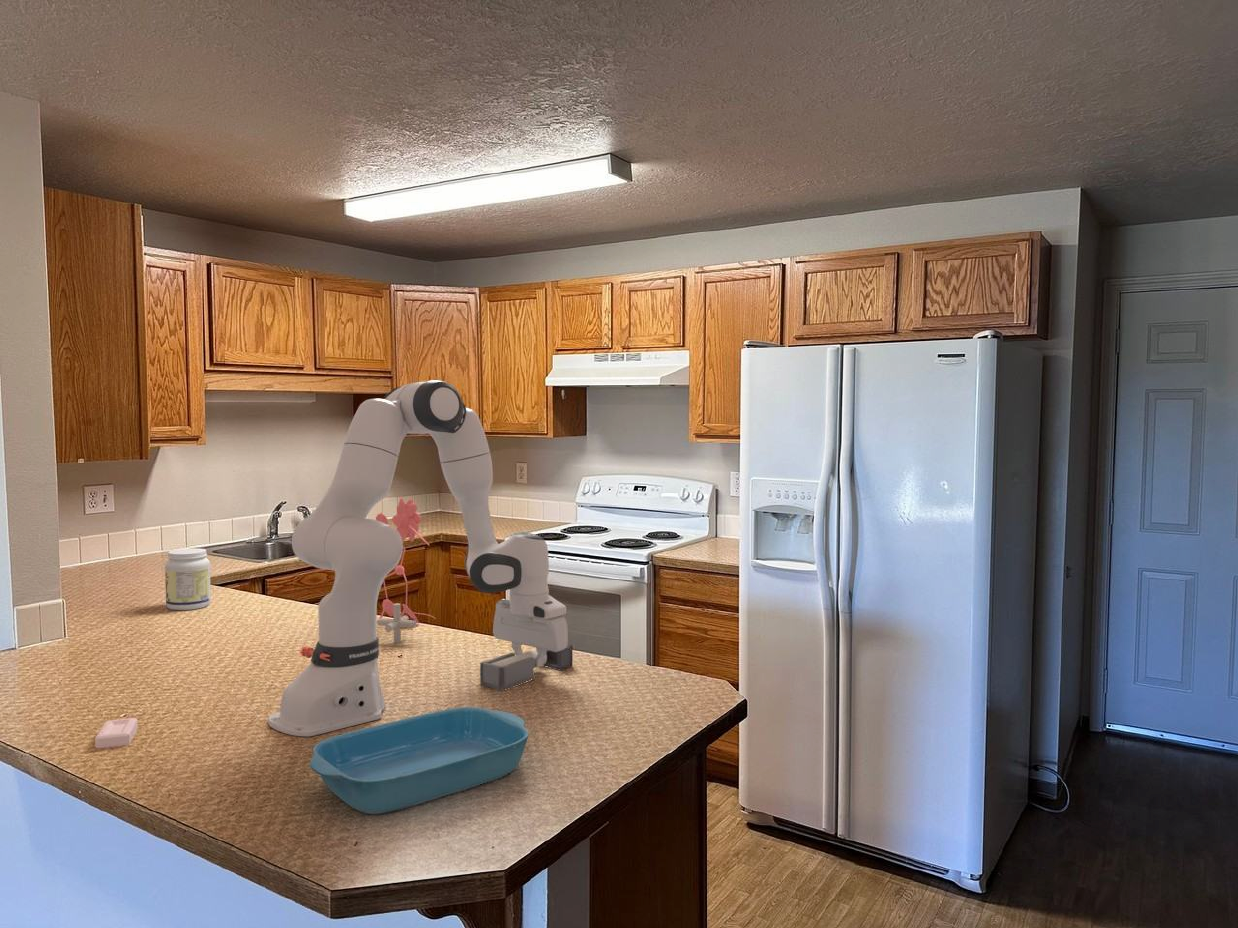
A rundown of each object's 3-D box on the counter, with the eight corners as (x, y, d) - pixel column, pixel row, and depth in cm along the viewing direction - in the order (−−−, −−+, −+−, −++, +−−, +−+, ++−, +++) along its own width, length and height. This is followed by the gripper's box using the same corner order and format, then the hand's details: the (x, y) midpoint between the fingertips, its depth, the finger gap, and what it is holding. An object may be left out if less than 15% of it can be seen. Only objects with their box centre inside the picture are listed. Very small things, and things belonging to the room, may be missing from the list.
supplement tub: (170, 603, 267) (168, 548, 266) (213, 600, 271) (212, 546, 269) (162, 612, 255) (160, 555, 254) (207, 609, 259) (206, 553, 258)
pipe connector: (406, 648, 219) (406, 609, 218) (370, 646, 221) (369, 607, 220) (423, 638, 229) (423, 600, 228) (388, 636, 231) (387, 598, 230)
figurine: (412, 633, 234) (413, 503, 232) (360, 617, 251) (361, 496, 249) (458, 624, 245) (460, 500, 243) (406, 609, 262) (407, 493, 261)
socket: (561, 670, 202) (561, 649, 202) (537, 664, 207) (537, 643, 206) (572, 666, 205) (572, 645, 205) (548, 660, 210) (548, 640, 209)
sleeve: (501, 691, 187) (501, 668, 187) (480, 685, 191) (480, 662, 191) (533, 679, 195) (533, 657, 195) (512, 674, 199) (512, 652, 199)
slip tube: (500, 682, 189) (500, 664, 188) (487, 679, 191) (487, 661, 191) (546, 666, 201) (546, 649, 200) (534, 663, 203) (534, 646, 203)
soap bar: (94, 750, 155) (94, 737, 155) (106, 732, 163) (105, 719, 163) (129, 746, 157) (128, 733, 156) (138, 729, 165) (137, 716, 165)
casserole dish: (483, 732, 164) (483, 695, 164) (554, 770, 147) (554, 729, 147) (287, 788, 140) (286, 744, 140) (345, 841, 123) (345, 792, 123)
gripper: (486, 599, 202) (486, 658, 202) (553, 613, 189) (553, 675, 190) (505, 595, 207) (506, 652, 207) (572, 607, 194) (571, 668, 195)
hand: (529, 663), depth 199 cm, fingers closed on slip tube, 4 cm apart
